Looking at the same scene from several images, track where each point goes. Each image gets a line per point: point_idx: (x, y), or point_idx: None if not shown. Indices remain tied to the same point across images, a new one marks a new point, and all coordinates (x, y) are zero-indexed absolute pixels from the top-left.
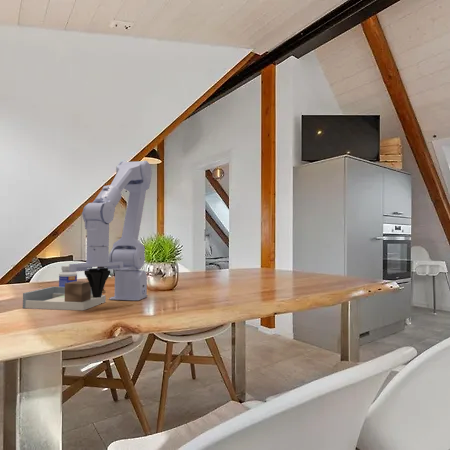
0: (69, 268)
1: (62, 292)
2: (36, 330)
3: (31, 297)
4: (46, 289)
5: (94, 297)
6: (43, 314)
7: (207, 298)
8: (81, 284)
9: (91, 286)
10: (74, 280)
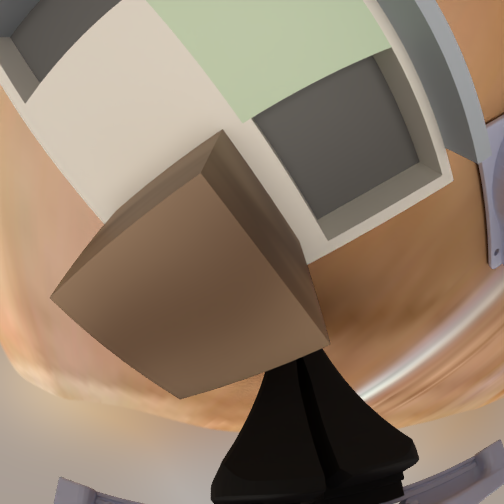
0: (56, 497)
1: None
2: (52, 381)
3: (3, 2)
4: None
5: (412, 107)
6: (41, 247)
7: None
8: (179, 394)
9: (269, 376)
10: None
